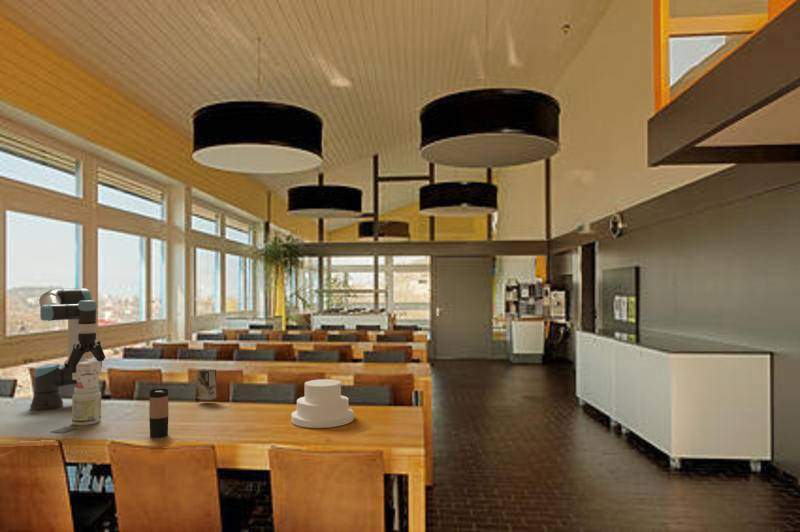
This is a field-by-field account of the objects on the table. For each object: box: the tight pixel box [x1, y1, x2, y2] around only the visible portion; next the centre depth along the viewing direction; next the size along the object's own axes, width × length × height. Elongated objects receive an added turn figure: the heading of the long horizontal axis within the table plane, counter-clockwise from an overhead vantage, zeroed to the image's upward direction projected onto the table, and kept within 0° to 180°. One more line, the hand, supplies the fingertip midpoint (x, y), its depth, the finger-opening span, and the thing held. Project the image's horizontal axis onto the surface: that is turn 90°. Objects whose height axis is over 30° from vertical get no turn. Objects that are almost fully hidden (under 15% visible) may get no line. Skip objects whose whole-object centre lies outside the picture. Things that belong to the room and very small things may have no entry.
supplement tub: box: [71, 385, 102, 426], centre depth 261 cm, size 12×12×17 cm
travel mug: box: [148, 388, 169, 439], centre depth 238 cm, size 8×8×20 cm
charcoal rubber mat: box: [49, 426, 78, 435], centre depth 248 cm, size 8×7×1 cm
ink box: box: [76, 361, 99, 388], centre depth 262 cm, size 9×5×12 cm, turn 75°
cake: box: [290, 378, 355, 429], centre depth 265 cm, size 30×30×18 cm
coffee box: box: [196, 368, 217, 401], centre depth 311 cm, size 9×6×16 cm
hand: (87, 377), depth 262 cm, fingers open, 13 cm apart
